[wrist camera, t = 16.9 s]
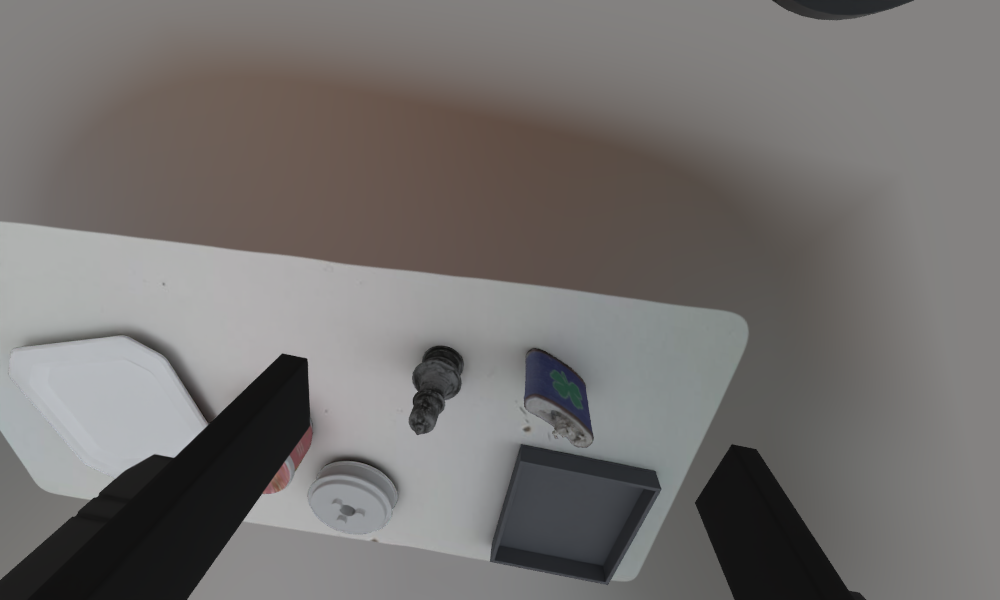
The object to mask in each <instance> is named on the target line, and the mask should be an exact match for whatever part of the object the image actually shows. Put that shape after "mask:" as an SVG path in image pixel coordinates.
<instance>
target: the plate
mask: <svg viewBox="0 0 1000 600" xmlns="http://www.w3.org/2000/svg"><path fill="white" fill-rule="evenodd" d="M8 373H9V376H10V379H11V380H12V381H13V382H14V383H15V384H16V385H17V387H18V388H19V389H20V390H21V391H22V392H23V394H24V395H25V396H26V397H27V398H28V399H29V400H30V402H31V403H32V404H33V405H34V406H35V407H36V409H37V410H38V411H39V412H40V413H41V414H42V416H43V417H44V418H45V419H46V420H47V421H48V422H49V424H50V425H51V426H52V427H53V428H54V429H55V431H56V432H57V433H58V434H59V435H60V436H61V438H62V439H63V440H64V441H65V442H66V443H67V444H68V446H69V447H70V448H71V449H72V450H73V451H74V453H75V454H76V455H77V456H78V457H79V458H80V460H81V461H82V462H83V463H84V464H86V465H87V466H89V467H91V468H93V469H95V470H98V471H100V472H102V473H104V474H106V475H109V476H111V477H113V478H115V479H116V478H117V477H118V476H119V475H120V474H121V473H123V472H124V471H125V470H127V469H129V468H130V467H132V466H134V465H136V464H138V463H139V462H141V461H143V460H145V459H146V458H148V457H150V456H152V455H154V454H157V455H162V456H167V457H172V458H174V457H176V456H177V455H178V454H179V453H180V452H181V451H182V450H183V449H184V448H185V447H186V446H187V445H188V444H189V443H190V442H191V441H192V440H193V439H194V438H195V437H196V436H197V435H198V434H199V433H200V432H201V431H202V430H204V429H205V428H206V427H207V426H208V425H209V424H208V423H207V421H206V419H205V418H204V416H203V415H202V413H201V412H200V410H199V408H198V407H197V405H196V404H195V402H194V401H193V399H192V397H191V396H190V394H189V393H188V391H187V389H186V388H185V386H184V385H183V383H182V382H181V380H180V378H179V377H178V375H177V374H176V372H175V371H174V369H173V367H172V366H171V364H170V363H169V361H168V360H167V358H165V357H164V356H163V355H162V354H160V353H158V352H156V351H154V350H153V349H151V348H149V347H147V346H145V345H143V344H141V343H139V342H138V341H136V340H134V339H132V338H130V337H128V336H124V335H119V336H110V337H102V338H93V339H85V340H76V341H68V342H59V343H51V344H42V345H34V346H25V347H17V348H14V349H13V350H12V351H11V355H10V363H9V372H8Z"/></svg>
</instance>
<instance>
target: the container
mask: <svg viewBox="0 0 1000 600" xmlns="http://www.w3.org/2000/svg"><path fill="white" fill-rule="evenodd" d="M312 427H313V425H312V421H311V418H310V427H309V428H308V430H307V431H306V433H305V434H304V435H303V437H302V438H301V440H300V441H299V442H298V444H297V445H296V447H295V448H294V450H293V451H292V452H291V454H290V455H289V457H288V458H287V459H286V461H285V462H284V464H283V465H282V466H281V468H280V469H279V471H278V472H277V473H276V475H275V476H274V478H273V479H272V480H271V482H270V483H269V485H268V486H267V488H266V489H265V490H264V492H263V493H262V494H271V493H276V492H279V491H281V490H283V489H285V488H286V487H287V486H288V485H289V484H290V482H291V481H292V479H293V477H294V473H295V471H296V470H297V468H298V466H299V464H300V463H301V461H302V459H303V458H304V456H305V454H306V453H307V451H308V449H309V447H310V445H311V441H312V434H313V432H312Z"/></svg>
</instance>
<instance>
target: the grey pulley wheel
mask: <svg viewBox="0 0 1000 600" xmlns="http://www.w3.org/2000/svg"><path fill="white" fill-rule="evenodd" d="M308 502H309V505H310V507H311V509H312V510H313V512H314V514H315V515H316V516H317V518H318V519H319V520H320V521H322V522H323V523H324V524H326V525H327V526H329V527H331V528H333V529H335V530H337V531H340V532H344V533H348V534H367V533H371V532H374V531H377V530H379V529H381V528H383V527H384V526H386V525H387V524H388V523H389V521H390V519H391V517H392V509H393V508H394V507H395V505H396V502H397V491H396V488H395V486H394V484H393V483H392V481H391V480H390V479H389V478H388V477H387V476H386V475H385V474H383V473H382V472H381V471H379V470H378V469H376V468H374V467H372V466H369V465H367V464H364V463H360V462H355V461H338V462H334V463H331V464H328V465H327V466H325V467H324V468H322V469H321V471H320V472H319V473H318V475H317V477H316V481H315V482H314V483H313V484H312V485H311V487H310V489H309V491H308Z"/></svg>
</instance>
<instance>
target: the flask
mask: <svg viewBox="0 0 1000 600" xmlns="http://www.w3.org/2000/svg"><path fill="white" fill-rule="evenodd" d="M530 351H531V352H530ZM530 351H529V352H528V353H527V355H526V381H525V396H524V407H525V409H526V410H527V411H529V412H530V413H532V414H534V415H536V416H537V417H540V418H542V419H543V420H545V421H546V422H548V423H549V424H551V425H552V426H554V429H555V431H553V432H552V434H553V435H554V437H555V438H556V439H558V437H557V435H558V434H561V436H562V437H567V438H568V440H569V441H570V442H571V444H573V445H574V446H576V447H582V448H585V447H588V446H589V445H591V444H592V442H593V439H594V437H593V433H592V427H591V420H590V414H589V407H588V400H587V394H586V385H585V383H584V381H583V380H582V378H581V377H580V376H579V375H578V374H577V373H576V372H574V370H572V368H570V367H568V365H566V364H564V363H562V362H561V361H560V360H558V359H557V358H555V357H553V356H552V355H550V354H548V353H547V352H545V351H542V350H539V349H536V348H535V349H532V350H530Z"/></svg>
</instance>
